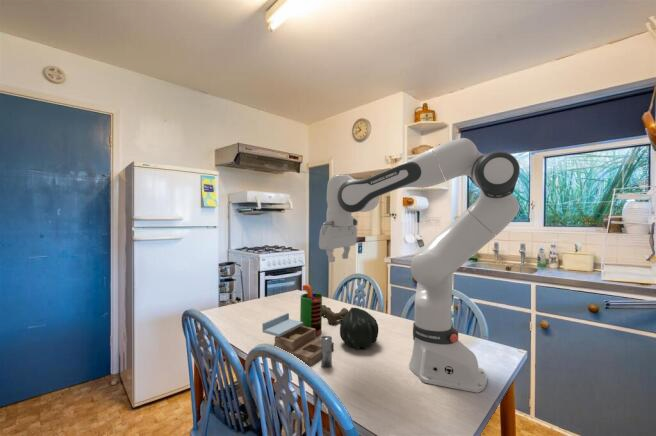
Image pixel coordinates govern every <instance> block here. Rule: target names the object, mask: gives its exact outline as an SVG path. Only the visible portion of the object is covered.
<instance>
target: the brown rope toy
mask: <svg viewBox="0 0 656 436" xmlns="http://www.w3.org/2000/svg"><path fill="white" fill-rule="evenodd" d="M348 312H349V309H348V308H346V307H343V308H342V309H341V310H340V311H339V312H334V311H332V309H331V307H327V305H325V304H322V316H324V317H326V320H327V322H328V323H329V325H331V326H333V325H335V324H336V322H338V321H342V320H343V318H344V317H345V315H346V314H347V313H348Z"/></svg>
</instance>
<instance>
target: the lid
mask: <svg viewBox="0 0 656 436" xmlns="http://www.w3.org/2000/svg"><path fill="white" fill-rule="evenodd" d="M302 325H303V322H300V320H296V319H292V318H290V313H288V312H286V313H284V314H281V315H279V316H277V317H274V318H273V319H270V320H267V321H265V322H263V323H262V333H264V334H268V335H271V336H274V337H276V336H277V337H280V336H282V335H284V334H286V333H288V332H290V331H292V330H294V329H296V328H298V327H300V326H302Z"/></svg>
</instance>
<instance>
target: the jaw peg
mask: <svg viewBox="0 0 656 436" xmlns="http://www.w3.org/2000/svg"><path fill="white" fill-rule="evenodd" d="M332 338H333V337H332V336H330V335H323V336H321V338H320V339H321V359H320V360H321V362H320V363H321V365H320V366H321V367H322V368H324V369H330V368H331V367H332V365H333V359H332V358H333V356H332V355H333V352H332V351H333V350H332V343H333V341H332V340H333V339H332Z"/></svg>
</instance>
